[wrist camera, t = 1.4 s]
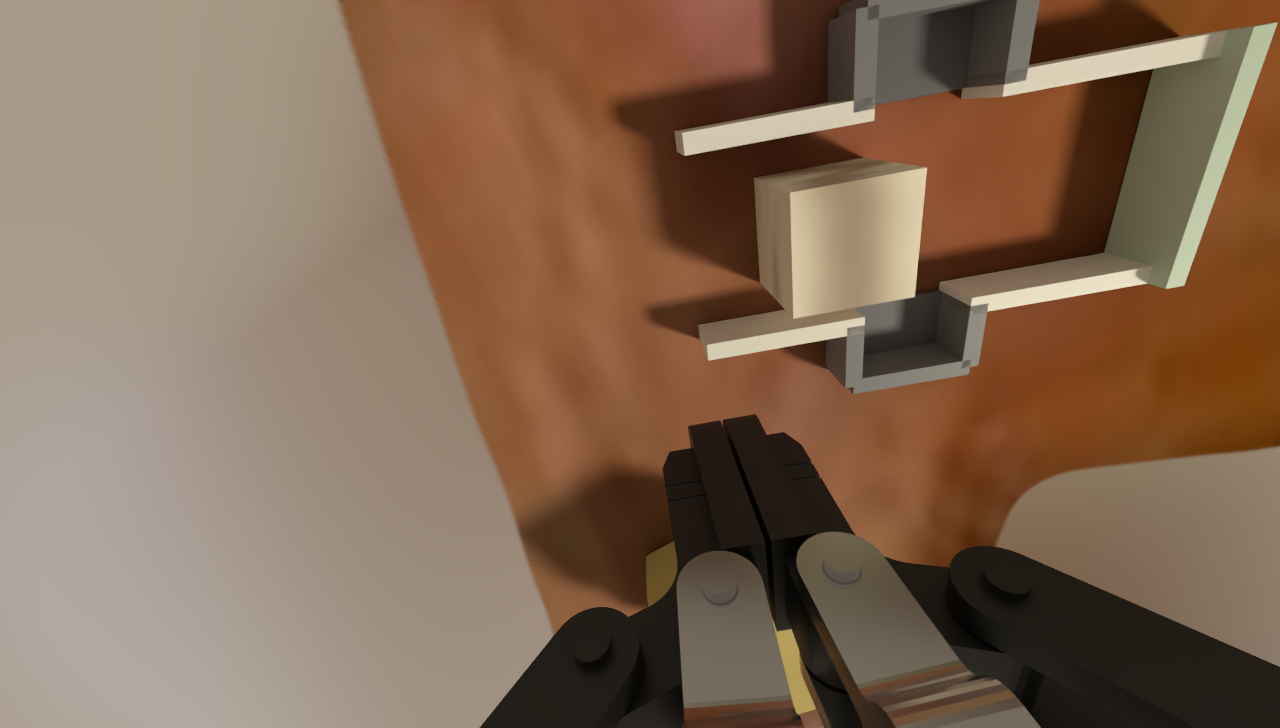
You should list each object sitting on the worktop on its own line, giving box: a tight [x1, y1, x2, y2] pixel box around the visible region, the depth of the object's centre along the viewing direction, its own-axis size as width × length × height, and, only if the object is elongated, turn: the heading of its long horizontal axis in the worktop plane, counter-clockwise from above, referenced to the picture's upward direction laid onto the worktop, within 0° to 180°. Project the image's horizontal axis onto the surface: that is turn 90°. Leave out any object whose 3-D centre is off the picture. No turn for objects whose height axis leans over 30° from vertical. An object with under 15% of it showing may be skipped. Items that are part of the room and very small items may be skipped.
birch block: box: [754, 158, 927, 319], centre depth 25 cm, size 6×6×6 cm
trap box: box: [674, 0, 1278, 394], centre depth 26 cm, size 26×20×4 cm
